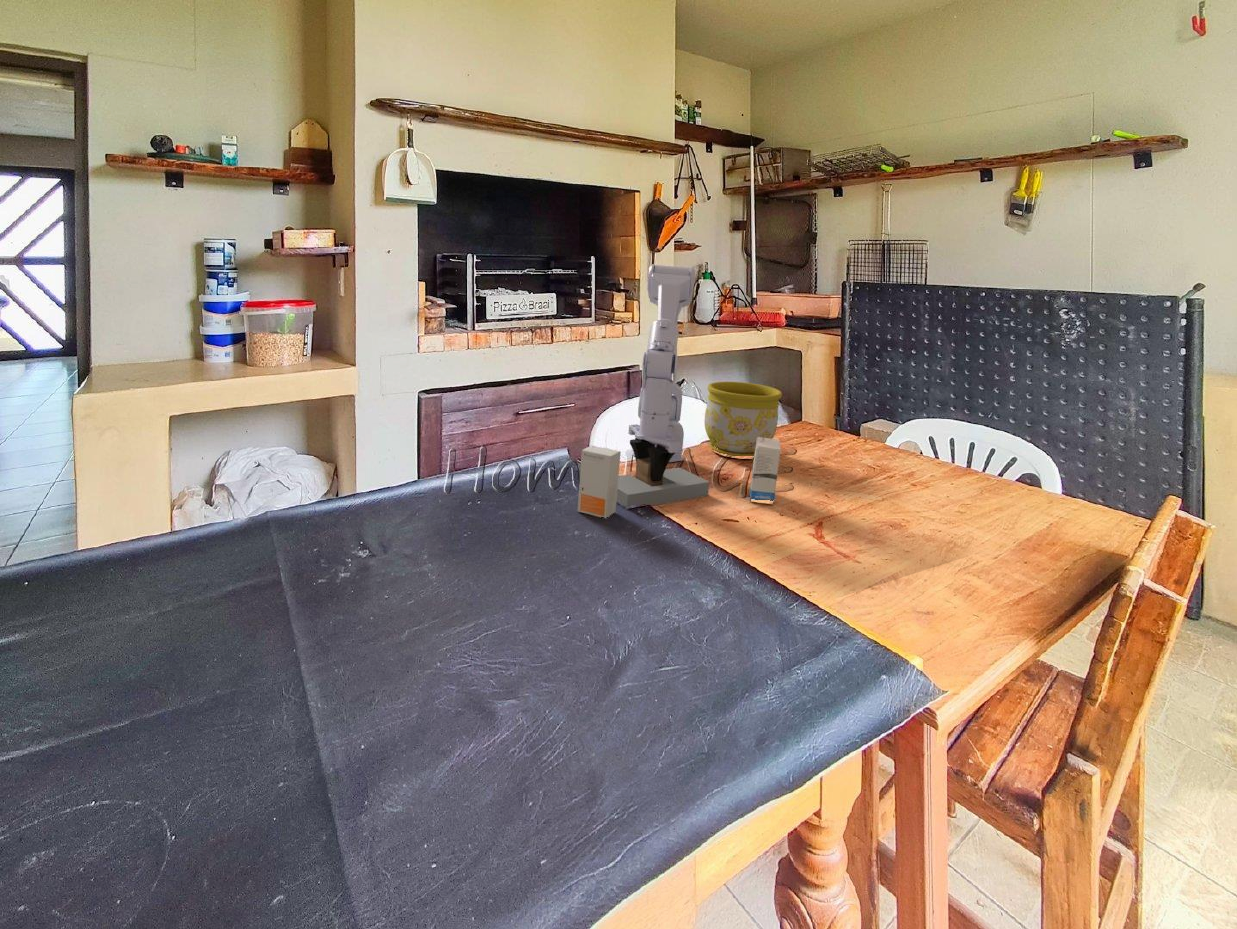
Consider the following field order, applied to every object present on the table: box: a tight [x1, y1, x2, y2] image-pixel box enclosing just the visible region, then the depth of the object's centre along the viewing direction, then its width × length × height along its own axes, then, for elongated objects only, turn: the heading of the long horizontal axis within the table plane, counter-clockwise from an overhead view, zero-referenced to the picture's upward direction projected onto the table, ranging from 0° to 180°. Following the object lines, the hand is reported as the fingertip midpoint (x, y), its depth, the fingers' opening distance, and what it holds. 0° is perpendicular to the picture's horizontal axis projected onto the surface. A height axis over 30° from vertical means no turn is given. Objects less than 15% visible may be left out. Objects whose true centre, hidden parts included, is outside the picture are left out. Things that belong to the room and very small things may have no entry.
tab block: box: [634, 458, 663, 487], centre depth 138 cm, size 4×4×5 cm
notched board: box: [616, 467, 711, 507], centre depth 138 cm, size 20×10×3 cm, turn 123°
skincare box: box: [577, 445, 622, 519], centre depth 124 cm, size 6×4×12 cm
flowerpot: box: [703, 381, 783, 456], centre depth 170 cm, size 18×18×16 cm
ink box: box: [749, 437, 782, 501], centre depth 139 cm, size 9×5×12 cm, turn 168°
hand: (649, 477), depth 139 cm, fingers closed on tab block, 4 cm apart
